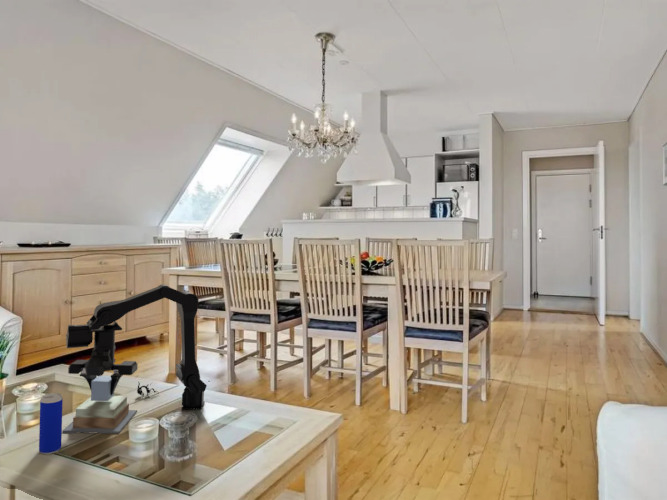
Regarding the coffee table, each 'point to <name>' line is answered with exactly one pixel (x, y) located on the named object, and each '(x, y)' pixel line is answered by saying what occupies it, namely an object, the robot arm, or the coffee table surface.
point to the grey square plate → (102, 430)
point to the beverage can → (50, 423)
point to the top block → (101, 388)
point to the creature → (146, 390)
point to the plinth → (100, 420)
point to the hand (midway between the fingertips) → (102, 394)
